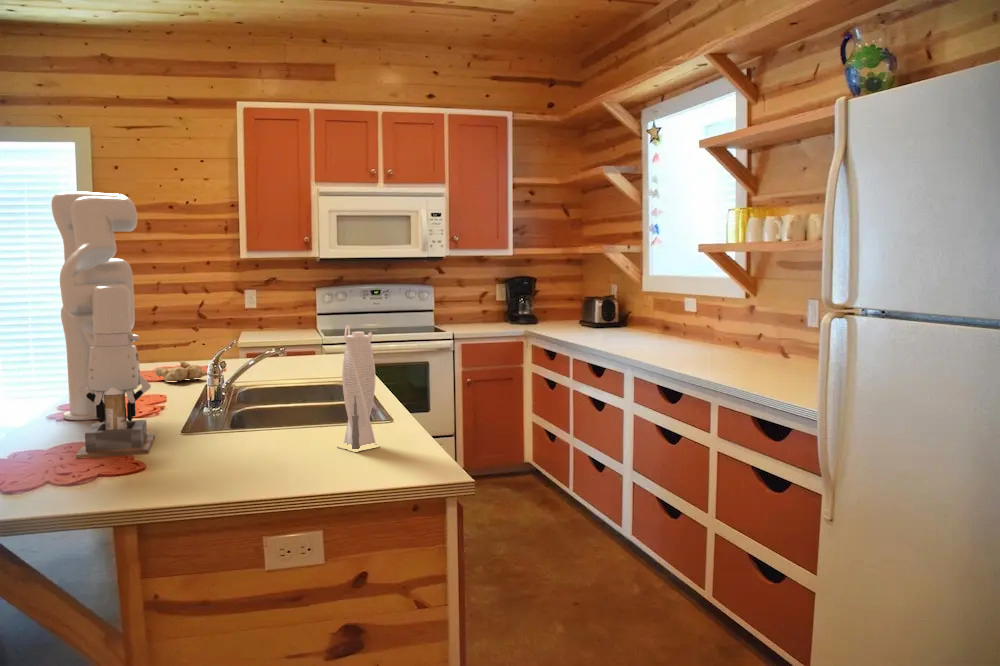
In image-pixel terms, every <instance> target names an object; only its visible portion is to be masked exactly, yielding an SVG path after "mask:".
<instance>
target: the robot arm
mask: <svg viewBox="0 0 1000 666" xmlns="http://www.w3.org/2000/svg"><path fill="white" fill-rule="evenodd" d="M51 211H52V217H53V219H54V221H55V225H56V227H57V229H58V230H59V231H58V232H59V233H60V236H61V239H62V241H63V254H64V255H63V256H64V258H63V259H64V263H63V265H62V267H61V269H60V273H59V287H60V295H61V301H62V307H61V310H60V319H61V323H62V327H63V332H64V338H65V339H64V340H65V347H66V363H67V378H68V379H67V380H68V381H67V382H68V401H69V402H68V403H69V404H68V405H69V410H68V411H66V412H63V414H62V415H63V416H62V417H63V419H64V420H69V421H90V420H99V423H102V422H105V410H104V408H105V403H104V394H103V392H105V391H108V390H109V389H110V388H116V389H117V390H120V391H126V393H125V395H126V396H127V398H128V401H127V403H126V417H127V421H133V419H134V417H136V413H137V412H136V401H137V400H138V399H140V398H141V396H142V395H143V394H145V393H146V392H148V391H149V390H150V389H152V385H151V384H150V383H149V381H147V380H146V379H145V377H143V376H142V375H141V369H140V367H141V366H140V360H139V354H138V348H137V346H136V345H133V343H134V342H136V341H139V339H140V337H139V335H138V334H133V333H132V330H133V329H134V326H135V322H136V320H135V319H136V317H135V316H136V314H135V311H136V310H135V290H134V288H135V287H134V278H133V277H134V275H133V269H132V267H131V265H130V263H129V262H128V261H127V260H125V259H122V258H114V257H115V256H116V254H117V250H118V249H117V243H116V238H115V232H133V231H134V230H135V229H136V228H137V225H138V212H137V208H136V206H135V203H134V202H133V200H131V198H129V197H128V196H126V195H124V194H121V193H120V194H119V193H108V192H107V193H106V192H105V193H104V192H91V191H63V192H59V193H55V194H54V195H53V197H52V199H51ZM139 386H142V387H141V388H140V389H138V387H139ZM136 389H138V390H137V391H136V392H135V390H136Z"/></svg>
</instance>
